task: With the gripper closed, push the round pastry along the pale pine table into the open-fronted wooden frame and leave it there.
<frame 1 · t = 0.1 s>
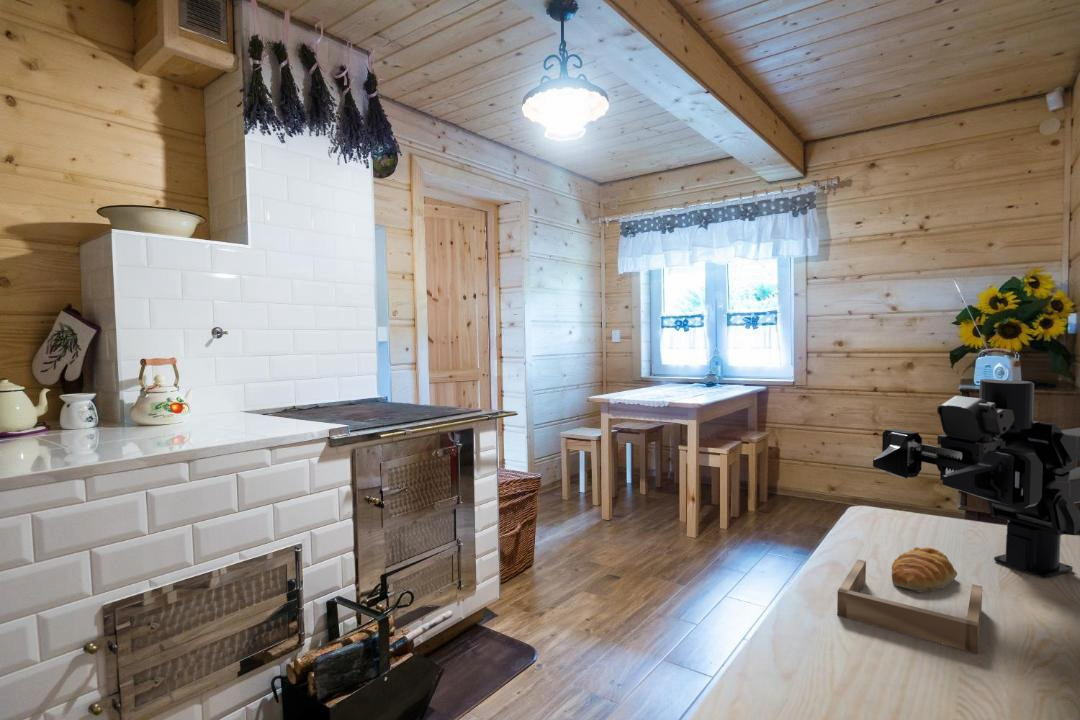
hand: (906, 471, 72), 17 cm above the table, tool horizontal, fingers open, 9 cm apart
wooden frame: (910, 610, 71), on the table
pastry: (922, 582, 79), on the table
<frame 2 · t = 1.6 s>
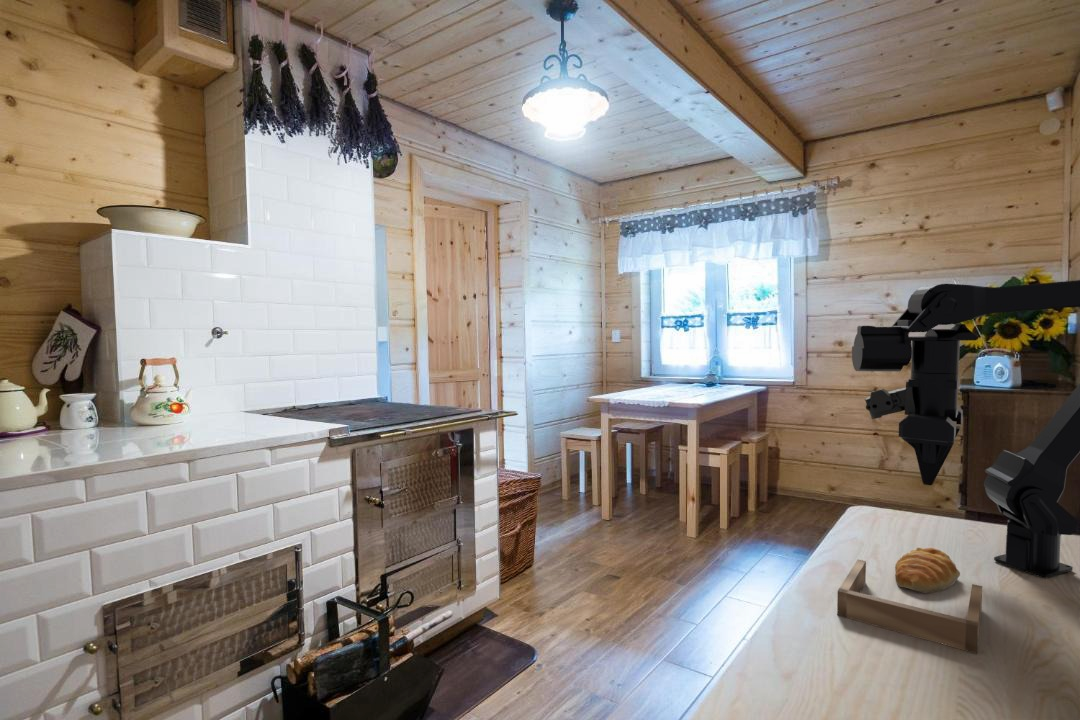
hand: (930, 478, 85), 12 cm above the table, tool pointing down, fingers open, 8 cm apart
nothing on the table moved.
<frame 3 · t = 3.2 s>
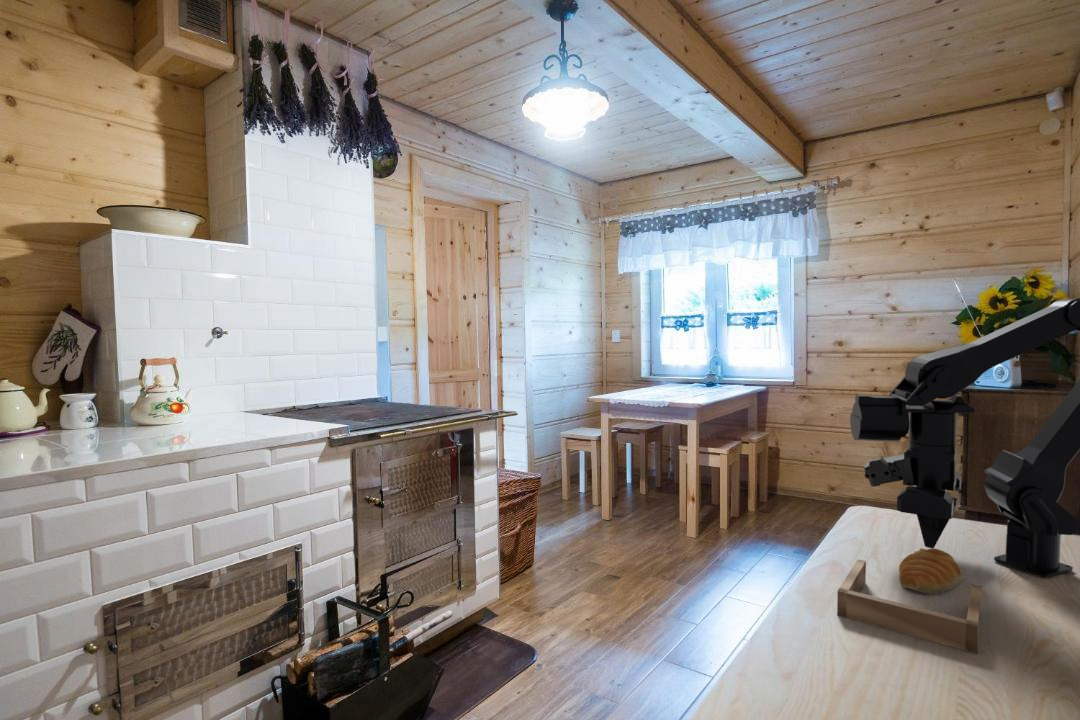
hand: (929, 547, 85), 2 cm above the table, tool pointing down, fingers closed
nothing on the table moved.
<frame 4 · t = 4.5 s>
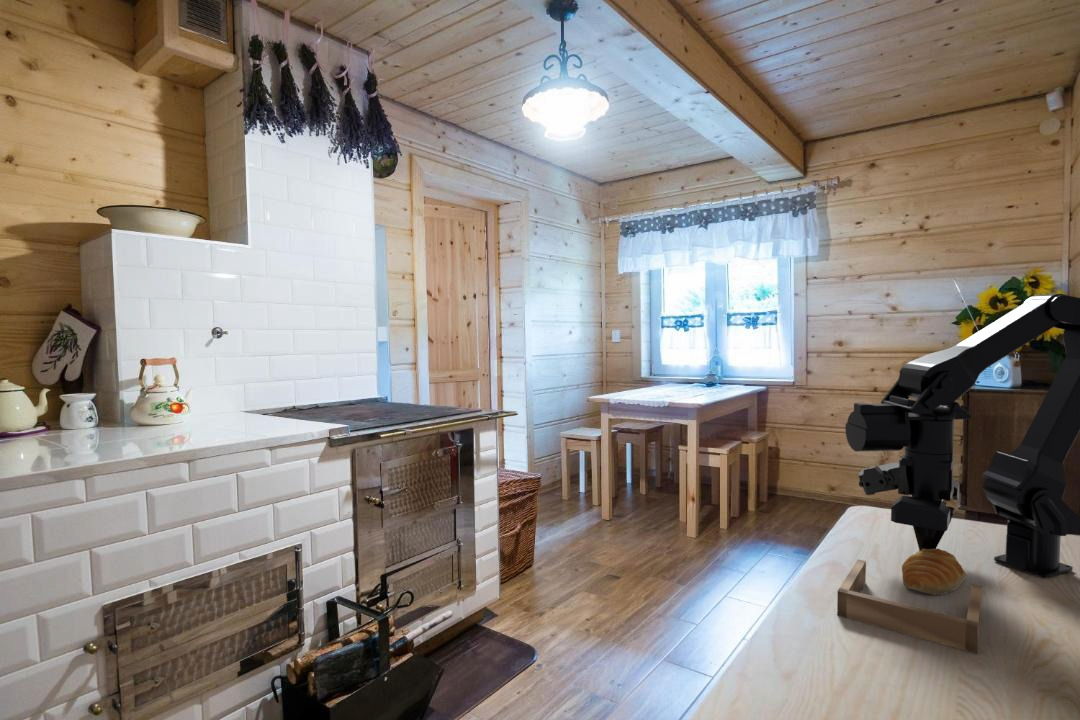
hand: (925, 557, 83), 1 cm above the table, tool pointing down, fingers closed
pastry: (932, 584, 78), on the table, touching gripper
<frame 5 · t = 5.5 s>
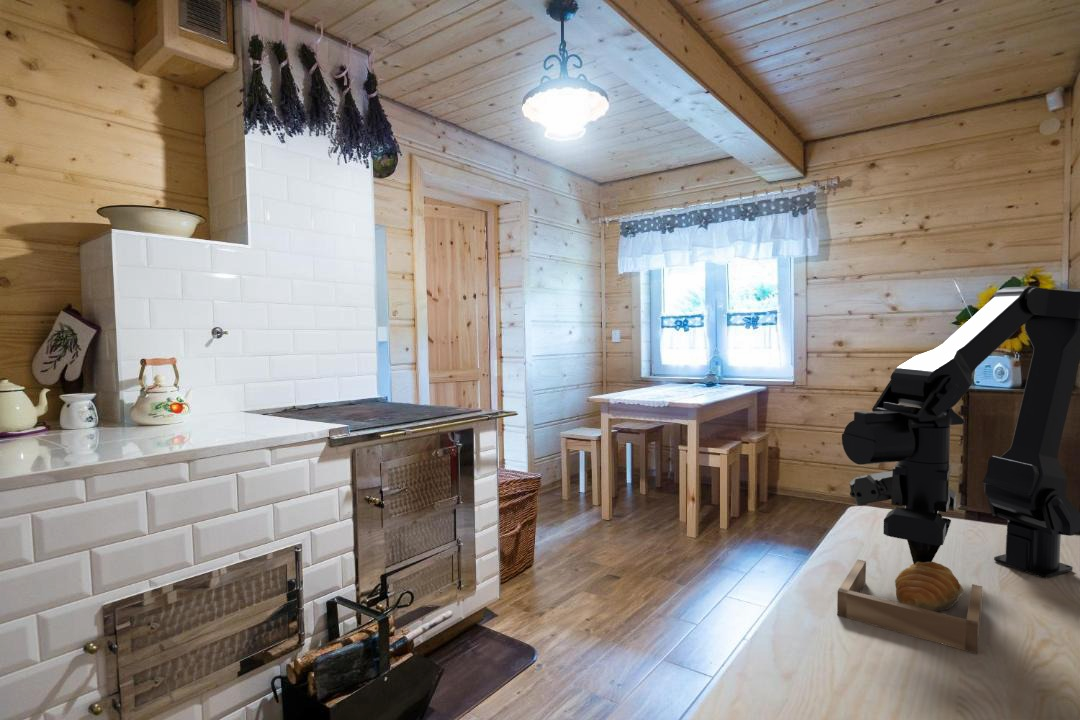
hand: (920, 572, 78), 1 cm above the table, tool pointing down, fingers closed
pastry: (927, 600, 74), on the table, touching gripper
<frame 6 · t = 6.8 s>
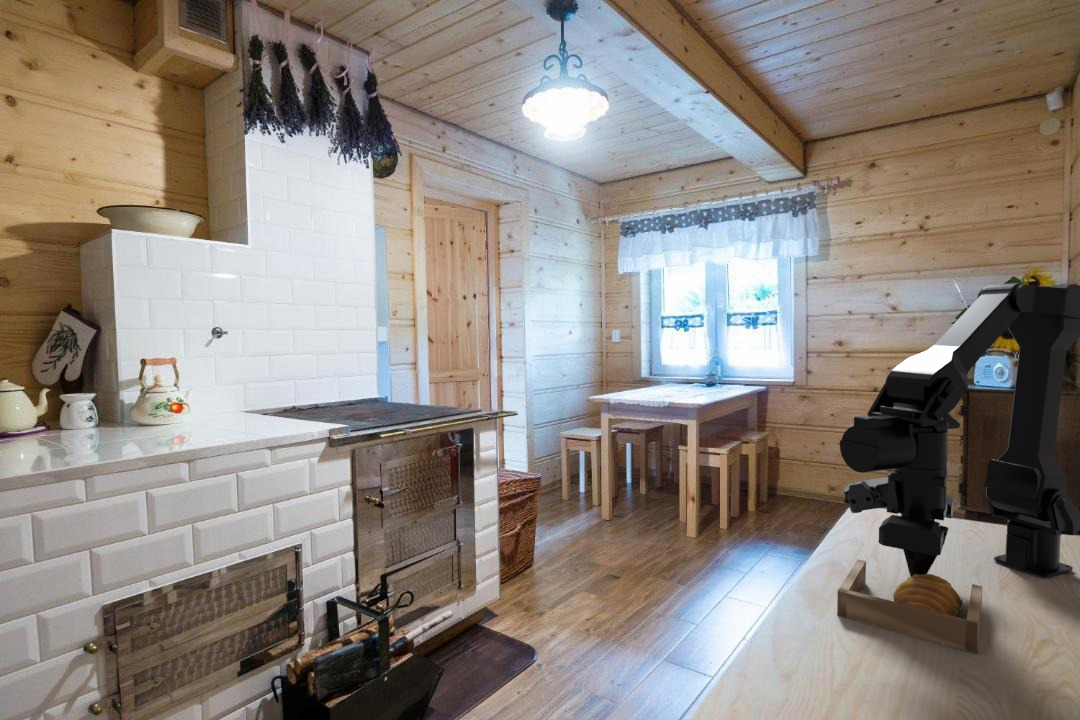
hand: (916, 582, 75), 1 cm above the table, tool pointing down, fingers closed
pastry: (927, 615, 71), on the table
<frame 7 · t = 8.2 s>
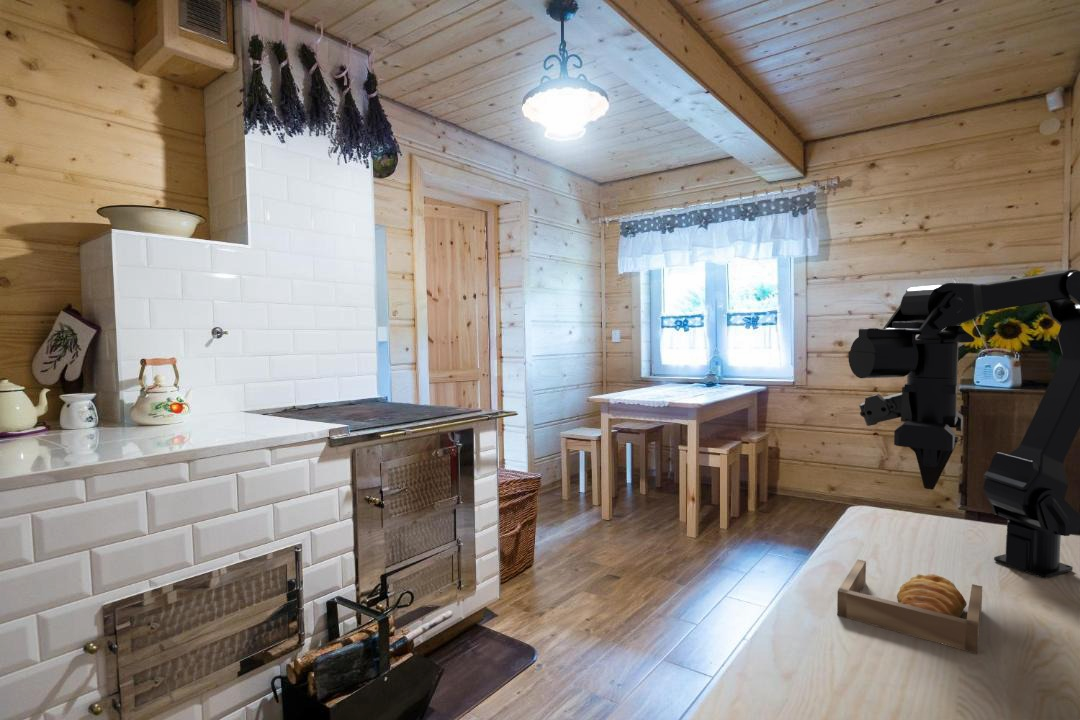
hand: (929, 488, 80), 12 cm above the table, tool pointing down, fingers closed
nothing on the table moved.
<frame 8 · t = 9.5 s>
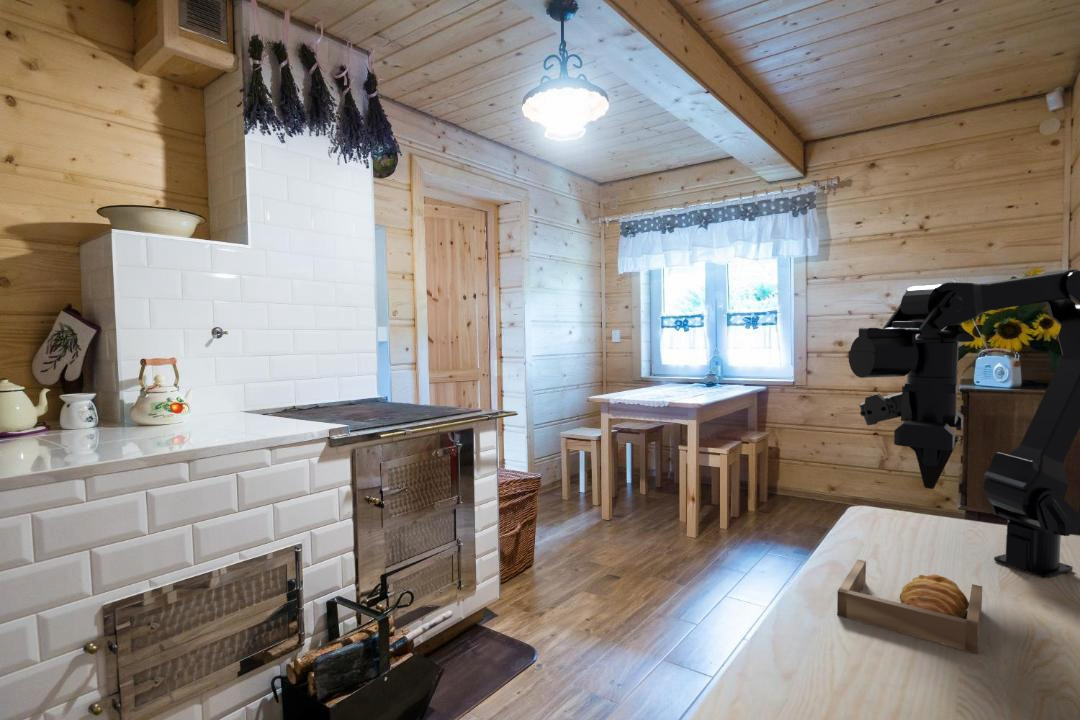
hand: (929, 487, 80), 12 cm above the table, tool pointing down, fingers closed
nothing on the table moved.
at the end: pastry 2.6 cm from the wooden frame (horizontally); pastry tilted 0°; pastry on the table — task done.
